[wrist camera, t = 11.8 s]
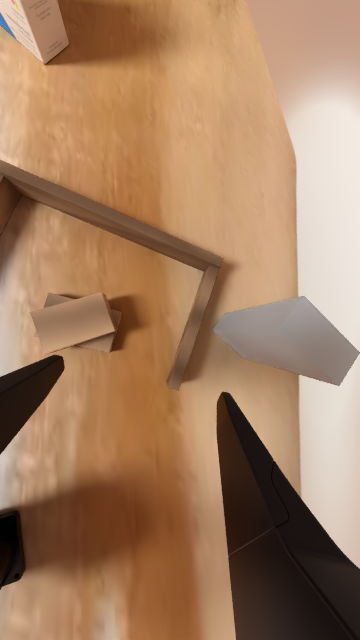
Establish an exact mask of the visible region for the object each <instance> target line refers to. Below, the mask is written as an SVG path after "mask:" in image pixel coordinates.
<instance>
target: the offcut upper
mask: <svg viewBox="0 0 360 640" xmlns="http://www.w3.org/2000/svg"><path fill="white" fill-rule="evenodd" d="M30 313H31V316H32V319H33V321H34V324H35V327H36V330H37V333H38V336H39V339H40V342H41V345H42V348H43V351H44V354H47V353H52V352H56V351H59V350H62V349H65V348H68V347H71V346H74V345H77V344H80V343H83V342H86V341H89V340H92V339H95V338H98V337H101V336H104V335H107V334H110V333H113V332H116V331H118V330H117V327H116V324H115V321H114V318H113V315H112V312H111V309H110V306H109V304H108V301H107V298H106V295H105V294H103V293H102V292H100V293H96V294H93V295H89V296H86V297H82V298H79V299H75V300H72V301H68V302H65V303H61V304H58V305H54V306H51V307H47V308H44V309H40V310H37V311H33V312H30Z"/></svg>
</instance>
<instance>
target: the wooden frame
mask: <svg viewBox="0 0 360 640" xmlns="http://www.w3.org/2000/svg"><path fill="white" fill-rule="evenodd" d="M21 195H23V196H26V197H28V198H30V199H33V200H35V201H37V202H40V203H42V204H45V205H47V206H49V207H52V208H54V209H56V210H59V211H61V212H64V213H66V214H68V215H71V216H73V217H75V218H78V219H80V220H83V221H85V222H87V223H90V224H92V225H94V226H97V227H99V228H102V229H104V230H106V231H109V232H111V233H113V234H116V235H118V236H121V237H123V238H125V239H128V240H130V241H132V242H135V243H137V244H140V245H142V246H144V247H147V248H149V249H151V250H154V251H156V252H159V253H161V254H163V255H166V256H168V257H170V258H173V259H175V260H178V261H180V262H182V263H185V264H187V265H189V266H192V267H194V268H197V269H199V270H201V271H204V274H203V277H202V280H201V283H200V285H199V288H198V291H197V294H196V297H195V300H194V303H193V306H192V309H191V312H190V315H189V318H188V321H187V323H186V326H185V329H184V332H183V335H182V338H181V341H180V344H179V347H178V350H177V353H176V356H175V359H174V362H173V364H172V367H171V370H170V373H169V376H168V379H167V384H168V387H169V388H171V389H175V390H178V391H179V388H180V385H181V382H182V379H183V376H184V373H185V370H186V367H187V364H188V361H189V358H190V355H191V352H192V349H193V346H194V343H195V340H196V337H197V334H198V331H199V328H200V325H201V322H202V319H203V316H204V313H205V310H206V307H207V304H208V301H209V298H210V295H211V292H212V289H213V286H214V283H215V279H216V276H217V273H218V270H219V268H220V267H221V265H222V262H223V259H224V258H221V257H219V256H217V255H215V254H212V253H210V252H208V251H206V250H203V249H201V248H199V247H197V246H194V245H192V244H190V243H187V242H185V241H183V240H181V239H178V238H176V237H174V236H172V235H169V234H167V233H165V232H163V231H160V230H158V229H156V228H153V227H151V226H149V225H147V224H144V223H142V222H140V221H138V220H135V219H133V218H131V217H129V216H126V215H124V214H122V213H120V212H117V211H115V210H113V209H110V208H108V207H106V206H104V205H101V204H99V203H97V202H95V201H92V200H90V199H88V198H86V197H83V196H81V195H79V194H77V193H74V192H72V191H70V190H67V189H65V188H63V187H61V186H58V185H56V184H54V183H52V182H49V181H47V180H45V179H43V178H40V177H38V176H36V175H33V174H31V173H29V172H27V171H24V170H22V169H20V168H18V167H15V166H13V165H11V164H9V163H6V162H4V161H2V160H0V235H1V233H2V231H3V229H4V227H5V225H6V223H7V221H8V219H9V217H10V215H11V213H12V211H13V209H14V207H15V205H16V203H17V202H18V200H19V198H20V196H21Z"/></svg>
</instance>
